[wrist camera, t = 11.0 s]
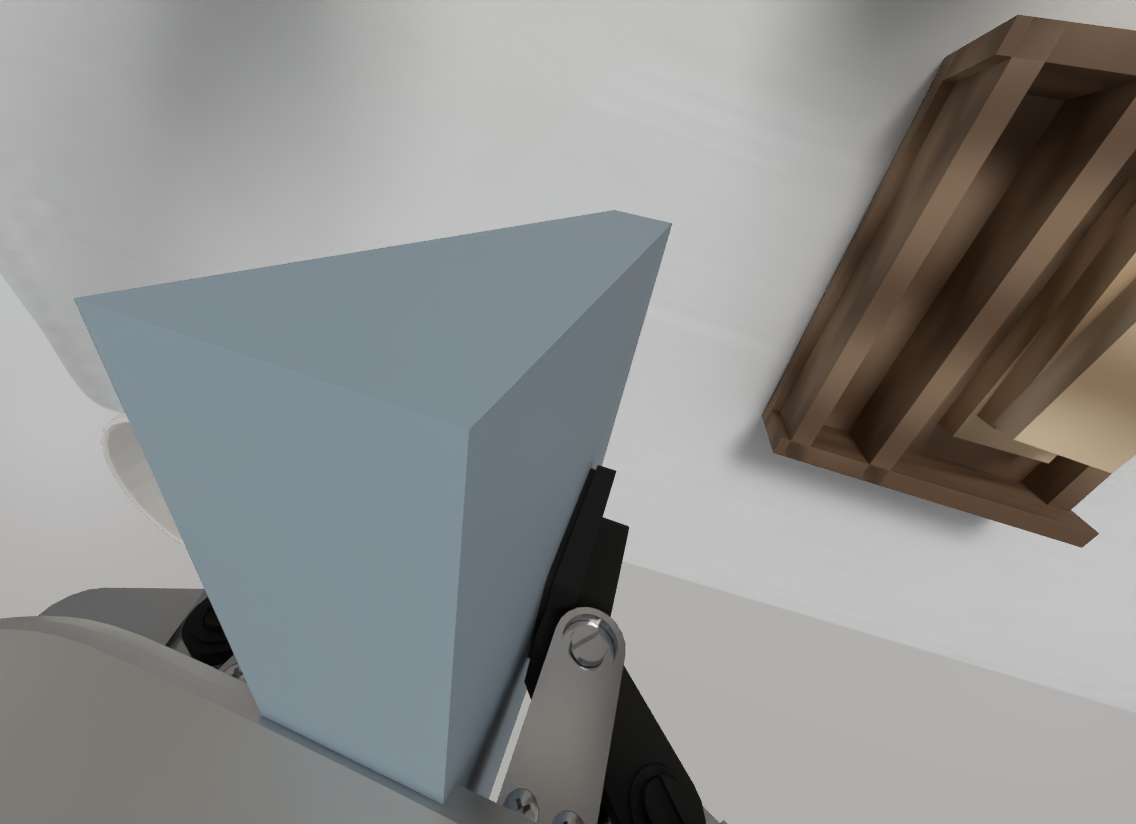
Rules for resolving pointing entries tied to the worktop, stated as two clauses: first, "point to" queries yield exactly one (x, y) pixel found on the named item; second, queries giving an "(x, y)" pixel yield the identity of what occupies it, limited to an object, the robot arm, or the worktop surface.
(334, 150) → the worktop surface
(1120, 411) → the offcut top
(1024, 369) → the offcut middle
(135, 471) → the cup
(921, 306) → the rack
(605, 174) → the worktop surface
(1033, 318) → the block
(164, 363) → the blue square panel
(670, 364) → the worktop surface
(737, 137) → the worktop surface
